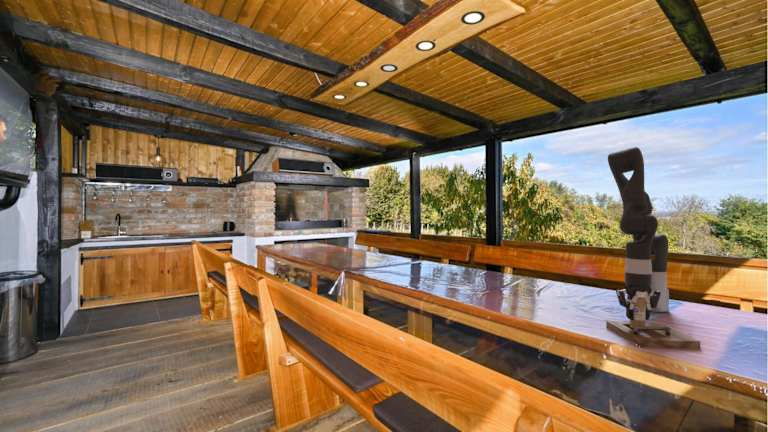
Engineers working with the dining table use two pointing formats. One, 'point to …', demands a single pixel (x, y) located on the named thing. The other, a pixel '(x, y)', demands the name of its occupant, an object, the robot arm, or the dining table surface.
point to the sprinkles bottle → (639, 311)
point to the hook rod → (666, 328)
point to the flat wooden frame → (658, 337)
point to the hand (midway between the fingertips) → (637, 319)
